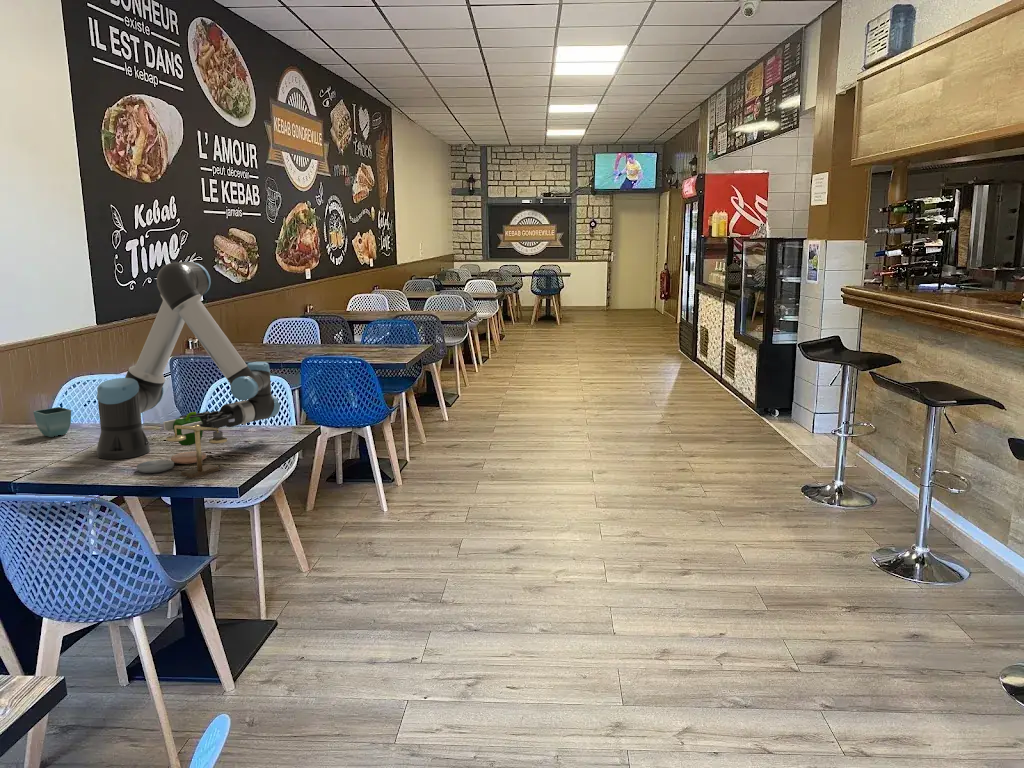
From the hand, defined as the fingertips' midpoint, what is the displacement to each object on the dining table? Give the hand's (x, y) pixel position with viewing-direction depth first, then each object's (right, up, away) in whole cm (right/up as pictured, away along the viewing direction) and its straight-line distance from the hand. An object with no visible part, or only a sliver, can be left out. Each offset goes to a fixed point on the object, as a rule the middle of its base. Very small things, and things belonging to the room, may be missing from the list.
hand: (173, 428), depth 224 cm
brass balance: (+11, -13, -6) cm, 18 cm away
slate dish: (-4, -12, -3) cm, 13 cm away
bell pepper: (+3, -5, +5) cm, 8 cm away
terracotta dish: (+2, -10, +6) cm, 12 cm away
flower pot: (-58, -5, +36) cm, 68 cm away
